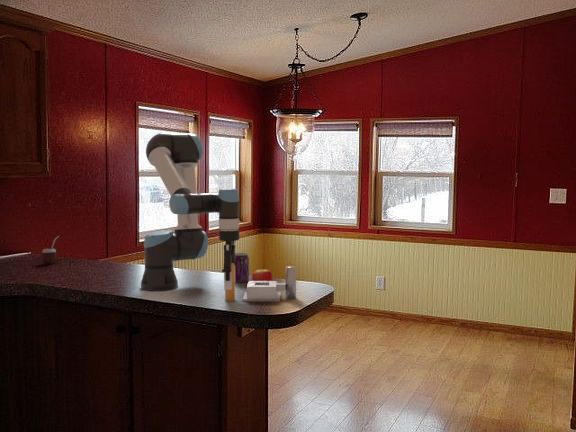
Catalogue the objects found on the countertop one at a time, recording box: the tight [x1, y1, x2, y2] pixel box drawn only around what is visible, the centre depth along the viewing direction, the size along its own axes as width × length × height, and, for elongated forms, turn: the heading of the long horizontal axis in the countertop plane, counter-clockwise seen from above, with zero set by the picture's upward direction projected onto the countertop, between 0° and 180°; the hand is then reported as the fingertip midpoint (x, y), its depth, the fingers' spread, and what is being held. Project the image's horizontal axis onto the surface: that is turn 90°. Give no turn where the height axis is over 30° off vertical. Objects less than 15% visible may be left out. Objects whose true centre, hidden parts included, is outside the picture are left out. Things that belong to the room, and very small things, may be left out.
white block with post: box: [242, 265, 297, 302], centre depth 231 cm, size 20×12×12 cm, turn 90°
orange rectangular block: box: [224, 263, 236, 302], centre depth 227 cm, size 4×4×14 cm
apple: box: [251, 264, 273, 281], centre depth 250 cm, size 8×8×10 cm
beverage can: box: [234, 252, 250, 283], centre depth 264 cm, size 7×7×12 cm
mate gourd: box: [41, 235, 60, 266], centre depth 309 cm, size 8×8×15 cm
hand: (230, 285), depth 227 cm, fingers open, 13 cm apart
